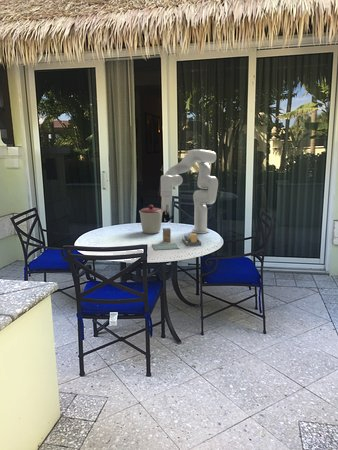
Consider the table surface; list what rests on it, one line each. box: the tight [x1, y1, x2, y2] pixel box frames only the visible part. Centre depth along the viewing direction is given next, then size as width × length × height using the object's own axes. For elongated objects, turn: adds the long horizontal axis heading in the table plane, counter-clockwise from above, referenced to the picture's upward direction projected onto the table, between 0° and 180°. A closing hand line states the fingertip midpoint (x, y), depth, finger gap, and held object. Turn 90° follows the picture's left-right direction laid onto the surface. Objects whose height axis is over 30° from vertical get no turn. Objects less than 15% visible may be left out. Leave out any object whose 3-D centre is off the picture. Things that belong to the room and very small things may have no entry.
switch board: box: [181, 235, 202, 247], centre depth 243 cm, size 14×10×4 cm
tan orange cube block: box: [189, 232, 198, 242], centre depth 238 cm, size 4×4×5 cm
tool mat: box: [151, 242, 180, 251], centre depth 233 cm, size 12×16×1 cm
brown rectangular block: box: [162, 227, 172, 243], centre depth 245 cm, size 5×5×9 cm
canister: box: [138, 204, 163, 235], centre depth 271 cm, size 18×18×21 cm
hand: (166, 219), depth 243 cm, fingers open, 9 cm apart
